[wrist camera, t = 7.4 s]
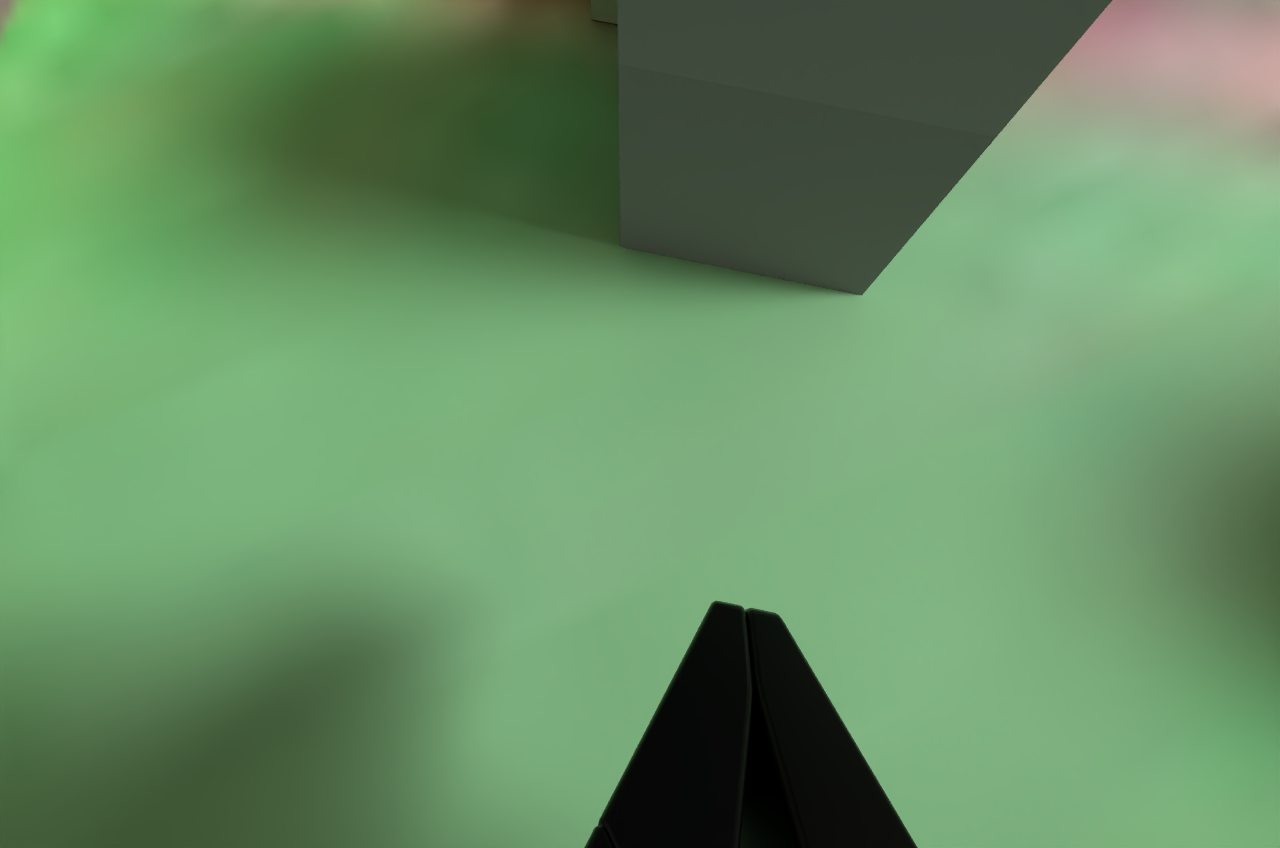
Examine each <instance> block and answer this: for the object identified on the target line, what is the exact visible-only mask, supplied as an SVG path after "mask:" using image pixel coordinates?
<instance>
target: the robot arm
mask: <svg viewBox="0 0 1280 848" xmlns="http://www.w3.org/2000/svg"><path fill="white" fill-rule="evenodd" d="M585 848H917V846H916V844H915V843H914V841H913V839H912V838H911V836H910V834H909V833H908V831H907V829H906V828H905V826H904V824H903V822H902V821H901V819H900V817H899V816H898V814H897V812H896V811H895V809H894V807H893V806H892V804H891V802H890V800H889V799H888V797H887V795H886V794H885V792H884V790H883V789H882V787H881V785H880V784H879V782H878V780H877V779H876V777H875V775H874V773H873V772H872V770H871V768H870V767H869V765H868V763H867V762H866V760H865V758H864V757H863V755H862V753H861V752H860V750H859V748H858V746H857V745H856V743H855V741H854V740H853V738H852V736H851V735H850V733H849V731H848V730H847V728H846V726H845V725H844V723H843V721H842V719H841V718H840V716H839V714H838V713H837V711H836V709H835V708H834V706H833V704H832V703H831V701H830V699H829V698H828V696H827V694H826V692H825V691H824V689H823V687H822V686H821V684H820V682H819V681H818V679H817V677H816V676H815V674H814V672H813V671H812V669H811V667H810V665H809V664H808V662H807V660H806V659H805V657H804V655H803V654H802V652H801V650H800V649H799V647H798V645H797V643H796V642H795V640H794V638H793V637H792V635H791V633H790V632H789V630H788V628H787V627H786V625H785V623H784V622H783V620H782V618H781V617H780V616H779V615H778V614H776V613H773V612H768V611H764V610H759V609H754V608H749V609H746V610H744V608H743V607H742V606H740V605H735V604H730V603H726V602H721V601H714V602H713V603H712V604H711V605H710V607H709V609H708V611H707V613H706V615H705V617H704V619H703V621H702V623H701V625H700V626H699V628H698V630H697V632H696V634H695V636H694V638H693V640H692V642H691V644H690V646H689V648H688V650H687V652H686V654H685V655H684V657H683V659H682V661H681V663H680V665H679V667H678V669H677V671H676V673H675V675H674V677H673V679H672V681H671V683H670V684H669V686H668V688H667V690H666V692H665V694H664V696H663V698H662V700H661V702H660V704H659V706H658V708H657V710H656V711H655V713H654V715H653V717H652V719H651V721H650V723H649V725H648V727H647V729H646V731H645V733H644V735H643V737H642V739H641V740H640V742H639V744H638V746H637V748H636V750H635V752H634V754H633V756H632V758H631V760H630V762H629V764H628V766H627V767H626V769H625V771H624V773H623V775H622V777H621V779H620V781H619V783H618V785H617V787H616V789H615V791H614V793H613V795H612V796H611V798H610V800H609V802H608V804H607V806H606V808H605V810H604V812H603V814H602V816H601V818H600V820H599V823H598V826H597V827H595V828H594V830H593V832H592V834H591V836H590V838H589V840H588V842H587V844H586V846H585Z"/></svg>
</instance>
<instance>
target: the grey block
mask: <svg viewBox="0 0 1280 848" xmlns="http://www.w3.org/2000/svg"><path fill="white" fill-rule="evenodd" d="M1111 1H1112V0H617V7H618V91H619V175H620V247H624V248H629V249H634V250H639V251H644V252H649V253H654V254H659V255H664V256H669V257H674V258H679V259H684V260H689V261H694V262H699V263H704V264H709V265H714V266H719V267H724V268H729V269H734V270H739V271H744V272H749V273H754V274H759V275H764V276H769V277H774V278H779V279H784V280H789V281H794V282H799V283H804V284H809V285H814V286H819V287H824V288H829V289H834V290H839V291H844V292H849V293H854V294H859V295H863V293H864V292H865V291H866V290H867V289H868V287H869V286H870V285H871V284H872V283H873V282H874V280H875V279H876V278H877V277H878V276H879V274H880V273H881V272H882V271H883V270H884V269H885V267H886V266H887V265H888V264H889V263H890V262H891V260H892V259H893V258H894V257H895V256H896V254H897V253H898V252H899V251H900V250H901V249H902V247H903V246H904V245H905V244H906V243H907V241H908V240H909V239H910V238H911V237H912V236H913V234H914V233H915V232H916V231H917V230H918V229H919V227H920V226H921V225H922V224H923V223H924V221H925V220H926V219H927V218H928V217H929V216H930V214H931V213H932V212H933V211H934V210H935V209H936V207H937V206H938V205H939V204H940V203H941V201H942V200H943V199H944V198H945V197H946V196H947V194H948V193H949V192H950V191H951V190H952V188H953V187H954V186H955V185H956V184H957V183H958V181H959V180H960V179H961V178H962V177H963V176H964V174H965V173H966V172H967V171H968V170H969V168H970V167H971V166H972V165H973V164H974V163H975V161H976V160H977V159H978V158H979V157H980V155H981V154H982V153H983V152H984V151H985V150H986V148H987V147H988V146H989V145H990V144H991V143H992V141H993V140H994V139H995V138H996V137H997V135H998V134H999V133H1000V132H1001V131H1002V130H1003V128H1004V127H1005V126H1006V125H1007V124H1008V123H1009V121H1010V120H1011V119H1012V118H1013V117H1014V115H1015V114H1016V113H1017V112H1018V111H1019V110H1020V108H1021V107H1022V106H1023V105H1024V104H1025V102H1026V101H1027V100H1028V99H1029V98H1030V97H1031V95H1032V94H1033V93H1034V92H1035V91H1036V90H1037V88H1038V87H1039V86H1040V85H1041V84H1042V82H1043V81H1044V80H1045V79H1046V78H1047V77H1048V75H1049V74H1050V73H1051V72H1052V71H1053V69H1054V68H1055V67H1056V66H1057V65H1058V64H1059V62H1060V61H1061V60H1062V59H1063V58H1064V57H1065V55H1066V54H1067V53H1068V52H1069V51H1070V49H1071V48H1072V47H1073V46H1074V45H1075V44H1076V42H1077V41H1078V40H1079V39H1080V38H1081V37H1082V35H1083V34H1084V33H1085V32H1086V31H1087V29H1088V28H1089V27H1090V26H1091V25H1092V24H1093V22H1094V21H1095V20H1096V19H1097V18H1098V16H1099V15H1100V14H1101V13H1102V12H1103V11H1104V9H1105V8H1106V7H1107V6H1108V5H1109V4H1110V2H1111Z"/></svg>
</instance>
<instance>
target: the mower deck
mask: <svg viewBox="0 0 1280 848" xmlns="http://www.w3.org/2000/svg"><path fill="white" fill-rule="evenodd" d="M590 6H591V19H593V20H598V21H603V22H608V23H613V24H618V7H617V0H590Z"/></svg>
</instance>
